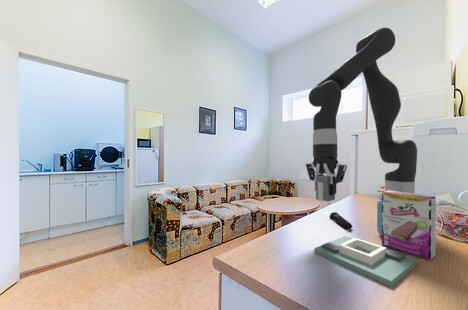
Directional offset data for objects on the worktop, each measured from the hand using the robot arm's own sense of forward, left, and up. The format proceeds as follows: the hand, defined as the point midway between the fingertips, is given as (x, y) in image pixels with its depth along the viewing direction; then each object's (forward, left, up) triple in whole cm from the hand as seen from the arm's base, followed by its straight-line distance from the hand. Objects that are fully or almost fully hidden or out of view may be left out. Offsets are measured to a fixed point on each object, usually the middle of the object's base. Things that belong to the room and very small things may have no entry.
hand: (325, 194), depth 69 cm
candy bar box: (-10, +19, -14) cm, 26 cm away
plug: (0, 0, -2) cm, 2 cm away
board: (+5, +14, -14) cm, 21 cm away
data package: (-18, +15, -14) cm, 27 cm away
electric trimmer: (-18, -5, -15) cm, 24 cm away
